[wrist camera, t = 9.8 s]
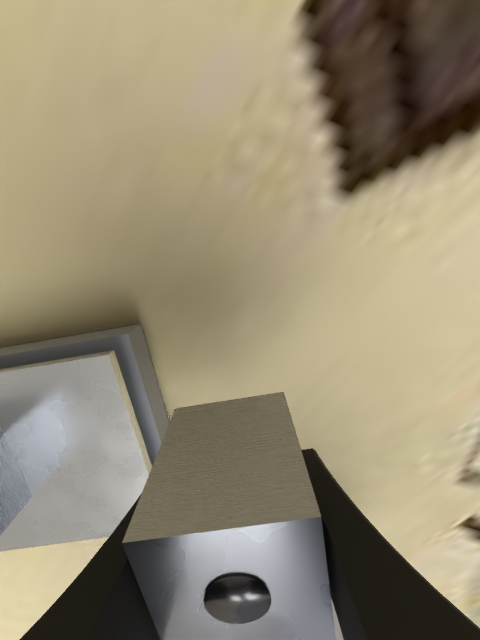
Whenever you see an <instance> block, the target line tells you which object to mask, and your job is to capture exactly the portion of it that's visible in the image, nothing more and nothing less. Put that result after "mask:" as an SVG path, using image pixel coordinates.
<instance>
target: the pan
mask: <svg viewBox="0 0 480 640" xmlns="http://www.w3.org/2000/svg"><path fill="white" fill-rule="evenodd" d="M0 435H3V437H4V439H5V441H6V443H7V445H8V447H9V449H10V451H11V453H12V455H13V457H14V459H15V461H16V463H17V465H18V467H19V469H20V471H21V473H22V475H23V477H24V479H25V481H26V483H27V485H28V487H29V489H30V491H31V493H32V495H33V496H32V498H31V499H30V500H29V501H28V502H27V504H26V505H25V506H24V507H23V509H22V510H21V511H20V512H19V513H18V515H17V516H16V517H15V518H14V519H13V521H12V522H11V523H10V524H9V526H8V527H7V528H6V529H5V530H4V532H3V533H2V534H1V535H0V551H7V550H14V549H21V548H29V547H36V546H44V545H51V544H59V543H66V542H74V541H81V540H89V539H96V538H103V537H110V535H111V534H112V533H113V532H114V530H115V529H116V527H117V526H118V525H119V523H120V522H121V521H122V519H123V518H124V517H125V515H126V514H127V513H128V511H129V510H130V509H131V507H132V506H133V504H134V503H135V502H136V500H137V499H138V497H139V496H140V495H141V493H142V491H143V489H144V486H145V484H146V481H147V479H148V476H149V473H150V471H151V468H152V465H151V462H150V459H149V455H148V452H147V449H146V446H145V443H144V440H143V437H142V434H141V431H140V428H139V425H138V422H137V419H136V416H135V413H134V409H133V406H132V403H131V400H130V397H129V394H128V391H127V388H126V385H125V382H124V379H123V376H122V373H121V370H120V367H119V364H118V360H117V357H116V354H115V351H114V350H112V351H106V352H100V353H94V354H88V355H82V356H76V357H70V358H64V359H58V360H52V361H46V362H40V363H34V364H28V365H22V366H16V367H10V368H4V369H0Z"/></svg>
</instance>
